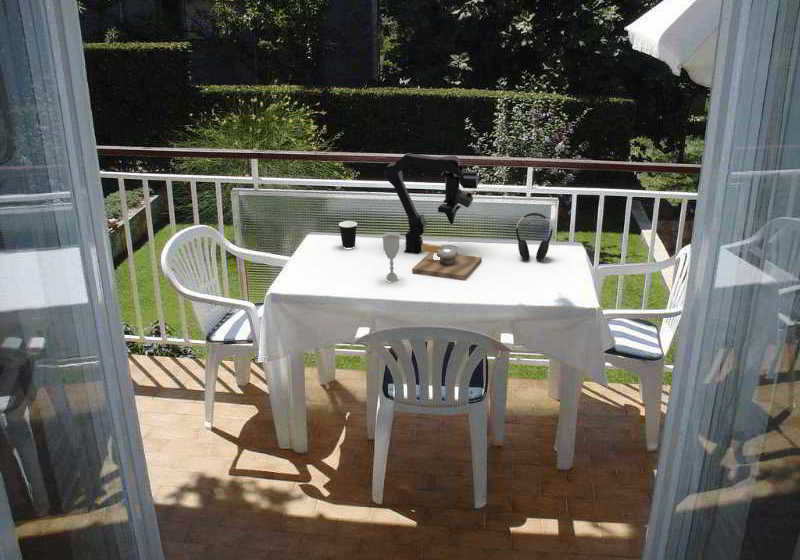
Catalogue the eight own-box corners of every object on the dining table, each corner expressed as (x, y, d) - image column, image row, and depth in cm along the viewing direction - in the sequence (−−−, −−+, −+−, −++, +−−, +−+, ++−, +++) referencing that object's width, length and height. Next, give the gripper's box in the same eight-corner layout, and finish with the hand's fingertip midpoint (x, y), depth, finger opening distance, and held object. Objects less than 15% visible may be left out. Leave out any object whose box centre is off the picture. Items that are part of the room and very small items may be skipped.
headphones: (550, 264, 314) (553, 216, 307) (514, 262, 317) (516, 215, 309) (550, 256, 322) (553, 210, 315) (515, 255, 325) (517, 209, 317)
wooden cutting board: (412, 273, 307) (412, 261, 305) (431, 255, 325) (431, 244, 324) (465, 280, 299) (465, 268, 297) (481, 261, 318) (481, 250, 316)
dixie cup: (361, 247, 336) (361, 223, 332) (347, 252, 331) (346, 227, 327) (349, 243, 341) (348, 219, 337) (336, 248, 336) (334, 223, 332)
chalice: (387, 284, 296) (386, 239, 290) (379, 278, 302) (378, 234, 295) (404, 280, 299) (403, 236, 293) (396, 275, 305) (395, 231, 298)
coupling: (461, 253, 312) (461, 245, 311) (453, 259, 305) (453, 252, 304) (426, 248, 318) (426, 241, 317) (418, 254, 311) (418, 247, 310)
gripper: (464, 195, 307) (463, 232, 312) (477, 183, 323) (476, 219, 329) (437, 192, 311) (437, 229, 316) (452, 181, 327) (451, 216, 332)
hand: (451, 223), depth 323 cm, fingers closed
